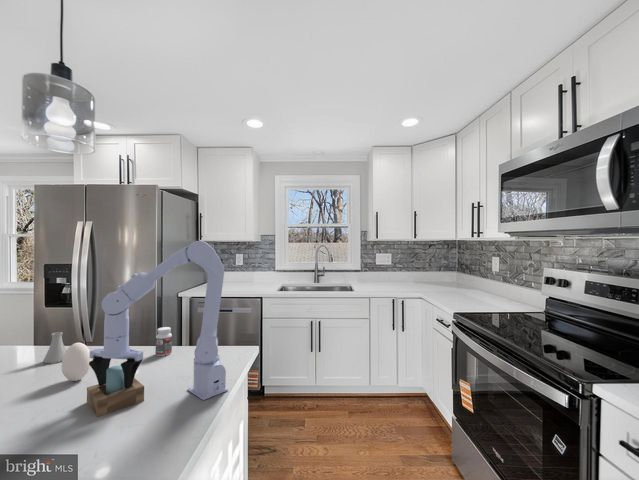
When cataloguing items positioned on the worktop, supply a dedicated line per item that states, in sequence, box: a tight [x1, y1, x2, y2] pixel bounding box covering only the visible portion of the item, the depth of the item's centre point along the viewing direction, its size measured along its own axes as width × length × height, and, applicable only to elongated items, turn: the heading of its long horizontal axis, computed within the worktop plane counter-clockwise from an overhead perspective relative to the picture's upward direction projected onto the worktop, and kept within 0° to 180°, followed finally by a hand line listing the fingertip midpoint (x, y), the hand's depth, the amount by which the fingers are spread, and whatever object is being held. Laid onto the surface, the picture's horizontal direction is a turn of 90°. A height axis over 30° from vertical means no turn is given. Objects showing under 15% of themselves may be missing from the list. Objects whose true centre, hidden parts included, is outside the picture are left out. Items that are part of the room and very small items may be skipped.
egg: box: [61, 342, 93, 382], centre depth 97 cm, size 7×7×12 cm
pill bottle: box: [155, 326, 173, 357], centre depth 120 cm, size 6×6×10 cm
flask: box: [42, 331, 67, 364], centre depth 113 cm, size 7×7×10 cm
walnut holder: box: [86, 377, 145, 418], centre depth 84 cm, size 11×11×4 cm
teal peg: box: [106, 364, 125, 395], centre depth 84 cm, size 4×4×9 cm
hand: (115, 385), depth 84 cm, fingers open, 7 cm apart
